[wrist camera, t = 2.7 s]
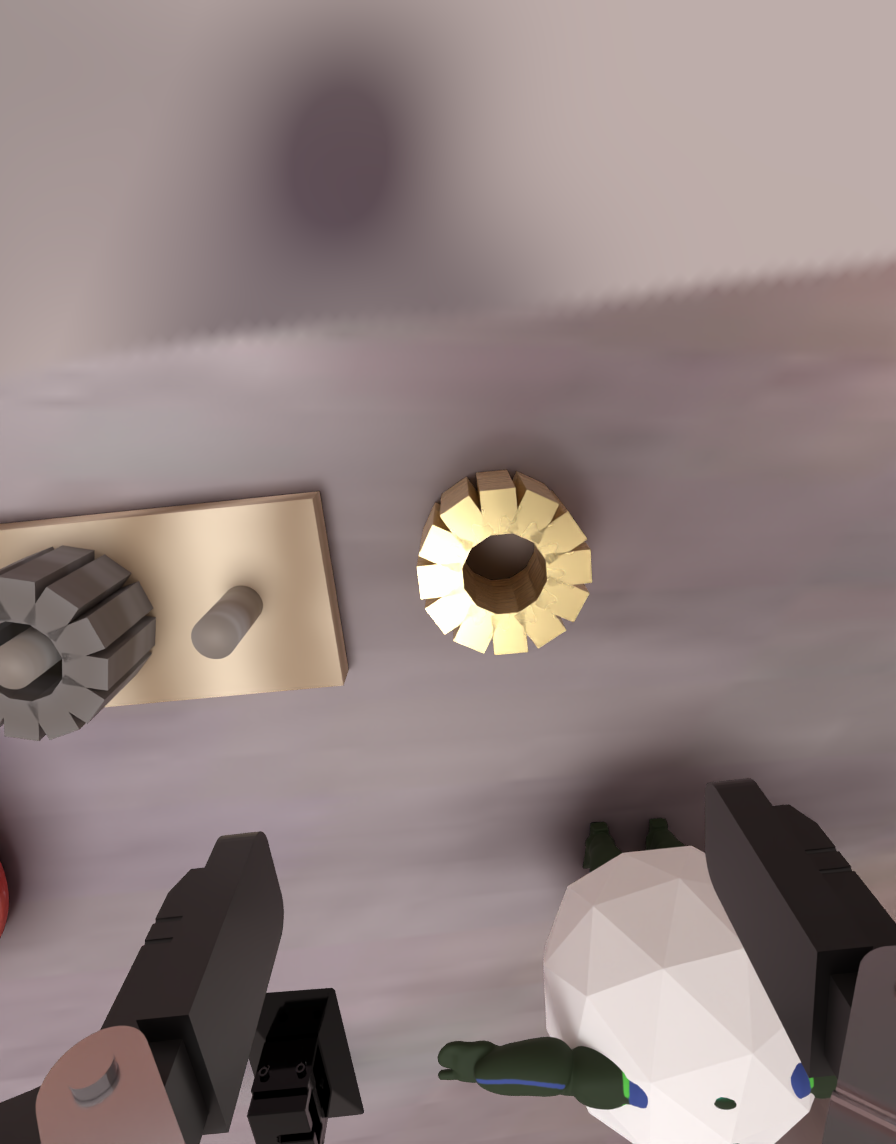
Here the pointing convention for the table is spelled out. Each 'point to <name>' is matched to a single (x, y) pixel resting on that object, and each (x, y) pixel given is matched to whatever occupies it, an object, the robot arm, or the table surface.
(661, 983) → the figurine
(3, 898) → the plant pot
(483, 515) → the brass gear
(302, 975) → the table surface
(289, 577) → the gear board
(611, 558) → the table surface
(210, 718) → the table surface
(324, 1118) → the black flared hood
